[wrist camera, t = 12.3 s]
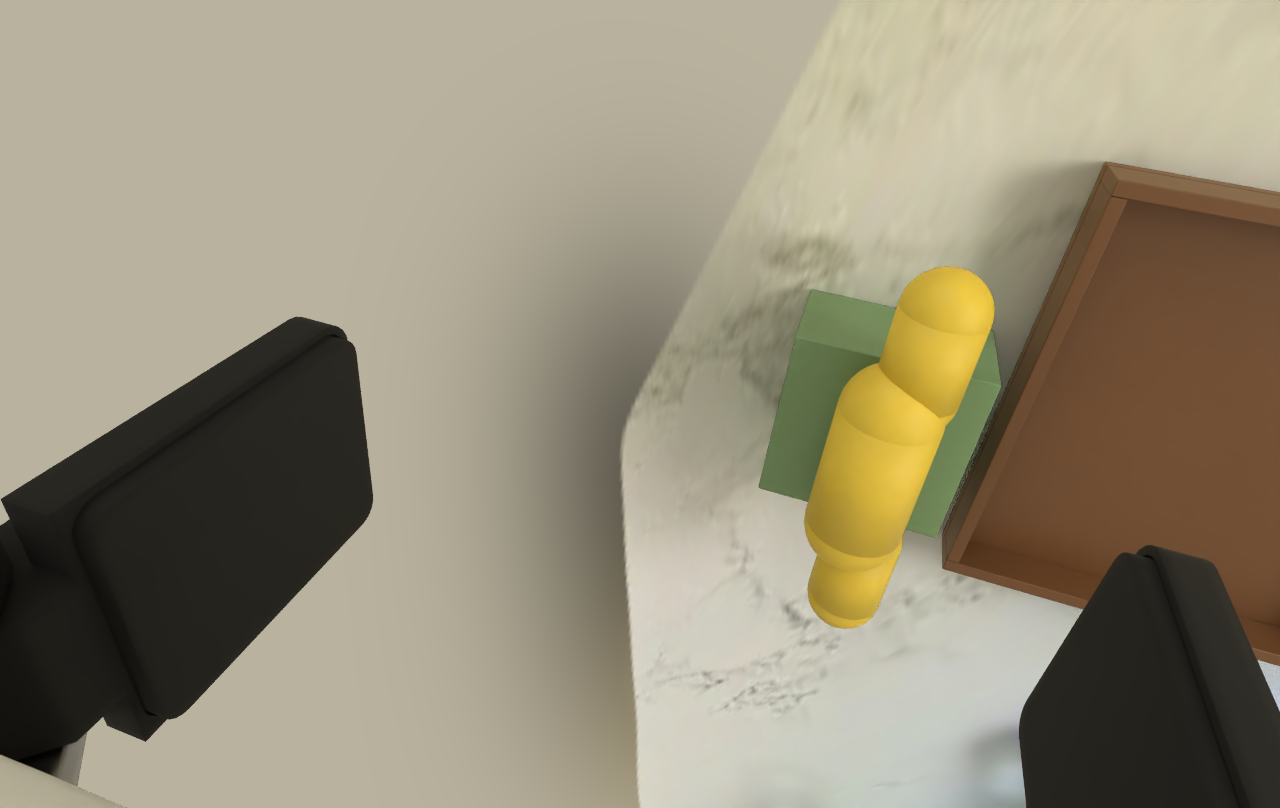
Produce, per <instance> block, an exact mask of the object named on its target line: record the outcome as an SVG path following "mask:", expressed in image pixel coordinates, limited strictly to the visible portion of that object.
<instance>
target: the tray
mask: <svg viewBox="0 0 1280 808" xmlns="http://www.w3.org/2000/svg"><path fill="white" fill-rule="evenodd" d="M1145 545H1154V546H1158V547H1161V548H1165V549H1169V550H1173V551H1176V552H1180V553H1184V554H1187V555H1191V556H1195V557H1199V558H1202V559H1206V560H1208V561H1210V562H1212V563H1213V564H1214V565H1215V567H1216V568H1217V570H1218V572H1219V574H1220V577H1221V579H1222V581H1223V583H1224V586H1225V588H1226V590H1227V593H1228V595H1229V597H1230V599H1231V602H1232V604H1233V606H1234V609H1235V611H1236V613H1237V615H1238V618H1239V620H1240V622H1241V625H1242V627H1243V629H1244V631H1245V634H1246V636H1247V638H1248V640H1249V643H1250V645H1251V647H1252V650H1253V652H1254V654H1255V656H1256V659H1257V660H1260V661H1264V662H1267V663H1271V664H1274V665H1278V666H1280V192H1275V191H1269V190H1263V189H1258V188H1252V187H1246V186H1241V185H1235V184H1230V183H1224V182H1218V181H1213V180H1207V179H1202V178H1196V177H1190V176H1185V175H1179V174H1173V173H1168V172H1162V171H1157V170H1151V169H1145V168H1140V167H1134V166H1129V165H1123V164H1117V163H1112V162H1105V163H1104V165H1103V167H1102V170H1101V172H1100V174H1099V177H1098V179H1097V181H1096V183H1095V186H1094V188H1093V190H1092V193H1091V195H1090V197H1089V199H1088V202H1087V204H1086V206H1085V209H1084V211H1083V213H1082V216H1081V218H1080V220H1079V222H1078V225H1077V227H1076V229H1075V232H1074V234H1073V236H1072V238H1071V241H1070V243H1069V245H1068V248H1067V250H1066V252H1065V254H1064V257H1063V259H1062V261H1061V264H1060V266H1059V268H1058V270H1057V273H1056V275H1055V277H1054V280H1053V282H1052V284H1051V286H1050V289H1049V291H1048V293H1047V296H1046V298H1045V300H1044V303H1043V305H1042V307H1041V309H1040V312H1039V314H1038V316H1037V319H1036V321H1035V323H1034V325H1033V328H1032V330H1031V332H1030V335H1029V337H1028V339H1027V341H1026V344H1025V346H1024V348H1023V351H1022V353H1021V355H1020V357H1019V360H1018V362H1017V364H1016V367H1015V369H1014V371H1013V374H1012V376H1011V378H1010V380H1009V383H1008V385H1007V387H1006V390H1005V392H1004V394H1003V396H1002V399H1001V401H1000V403H999V406H998V408H997V410H996V412H995V415H994V417H993V419H992V422H991V424H990V426H989V428H988V431H987V433H986V435H985V438H984V440H983V442H982V445H981V447H980V449H979V451H978V454H977V456H976V458H975V461H974V463H973V465H972V467H971V470H970V472H969V474H968V477H967V479H966V481H965V483H964V486H963V488H962V490H961V493H960V495H959V497H958V499H957V502H956V504H955V506H954V509H953V511H952V513H951V516H950V518H949V520H948V522H947V525H946V527H945V529H944V532H943V534H942V568H943V569H945V570H949V571H952V572H956V573H959V574H963V575H966V576H969V577H973V578H976V579H980V580H983V581H987V582H990V583H994V584H997V585H1001V586H1004V587H1008V588H1011V589H1014V590H1018V591H1021V592H1025V593H1028V594H1032V595H1035V596H1039V597H1042V598H1046V599H1049V600H1053V601H1056V602H1060V603H1063V604H1066V605H1070V606H1073V607H1077V608H1080V609H1084V608H1085V606H1086V605H1087V603H1088V602H1089V600H1090V598H1091V597H1092V595H1093V594H1094V592H1095V590H1096V589H1097V587H1098V586H1099V584H1100V582H1101V581H1102V579H1103V578H1104V576H1105V574H1106V573H1107V571H1108V570H1109V568H1110V566H1111V565H1112V563H1113V562H1114V560H1115V559H1116V558H1117V556H1118V555H1120V554H1121V553H1124V552H1128V553H1131V554H1136V553H1137V552H1138V550H1139V549H1141V548H1142V547H1144V546H1145Z"/></svg>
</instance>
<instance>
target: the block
mask: <svg viewBox="0 0 1280 808" xmlns="http://www.w3.org/2000/svg"><path fill="white" fill-rule="evenodd" d="M895 311H896V308H892V307H887V306H883V305H879V304H874V303H870V302H865V301H861V300H856V299H852V298H848V297H843V296H839V295H834V294H830V293H825V292H821V291H816V290H811V291H810V294H809V297H808V300H807V303H806V306H805V309H804V312H803V315H802V318H801V321H800V324H799V327H798V330H797V333H796V337H795V340H794V344H793V348H792V353H791V357H790V361H789V365H788V369H787V373H786V377H785V381H784V385H783V389H782V393H781V397H780V401H779V406H778V410H777V414H776V418H775V422H774V426H773V430H772V434H771V438H770V442H769V446H768V450H767V454H766V459H765V463H764V467H763V471H762V475H761V479H760V483H759V488H760V489H764V490H768V491H771V492H775V493H778V494H782V495H785V496H789V497H792V498H796V499H800V500H803V501H807V502H808V501H809V497H810V494H811V491H812V487H813V484H814V481H815V477H816V474H817V471H818V467H819V464H820V461H821V457H822V454H823V450H824V447H825V444H826V440H827V437H828V434H829V430H830V427H831V424H832V420H833V417H834V413H835V410H836V407H837V403H838V400H839V397H840V395H841V393H842V390H843V389H844V387H845V385H846V384H847V383H848V381H849V380H850V379H851V378H852V377H853V376H855V375H856V374H857V373H858V372H859V371H861V370H862V369H864V368H866V367H868V366H870V365H873V364H877V363H879V361H880V358H881V355H882V352H883V349H884V346H885V343H886V339H887V336H888V333H889V330H890V327H891V324H892V321H893V318H894V315H895ZM1000 389H1001V380H1000V373H999V366H998V359H997V352H996V345H995V338H994V332H993V330H990V332H989V335H988V337H987V340H986V342H985V345H984V347H983V349H982V352H981V354H980V357H979V359H978V362H977V364H976V367H975V369H974V372H973V374H972V377H971V379H970V382H969V384H968V387H967V389H966V391H965V394H964V396H963V399H962V401H961V404H960V406H959V409H958V411H957V413H956V414H955V416H954V417H953V419H952V420H951V421H950V422H949V423H948V424H947V425H946V427H945V431H944V434H943V436H942V439H941V441H940V444H939V446H938V449H937V451H936V454H935V456H934V459H933V461H932V464H931V466H930V469H929V471H928V474H927V476H926V479H925V481H924V484H923V486H922V489H921V491H920V494H919V496H918V499H917V501H916V504H915V506H914V509H913V511H912V514H911V516H910V519H909V521H908V524H907V526H906V530H910V531H913V532H917V533H920V534H924V535H928V536H931V537H937V534H938V532H939V530H940V527H941V525H942V523H943V520H944V518H945V516H946V514H947V511H948V509H949V507H950V504H951V502H952V500H953V497H954V495H955V493H956V490H957V488H958V486H959V483H960V481H961V479H962V476H963V474H964V472H965V470H966V467H967V465H968V463H969V460H970V458H971V456H972V453H973V451H974V449H975V446H976V444H977V442H978V439H979V437H980V435H981V433H982V430H983V428H984V426H985V423H986V421H987V419H988V416H989V414H990V412H991V409H992V407H993V405H994V402H995V400H996V398H997V395H998V393H999V391H1000Z"/></svg>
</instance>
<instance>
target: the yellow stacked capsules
mask: <svg viewBox="0 0 1280 808" xmlns="http://www.w3.org/2000/svg"><path fill="white" fill-rule="evenodd" d="M994 314H995V306H994V301H993V297H992V294H991V292H990V290H989V288H988V287H987V286H986V284H985V283H984V282H983V281H982V280H981V279H980V278H979V277H978V276H976V275H975V274H973V273H972V272H970V271H968V270H965V269H962V268H958V267H938V268H934V269H931V270H928V271H926V272H924V273H922V274H920V275H919V276H917V277H916V278H915V279H914V280H912V281H911V282H910V283H909V284H908V286H907V287H906V288H905V290H904V291H903V293H902V295H901V298H900V300H899V302H898V305H897V308H896V311H895V315H894V318H893V321H892V324H891V327H890V330H889V333H888V336H887V339H886V343H885V346H884V349H883V352H882V355H881V358H880V361H879V363H877V364H873V365H870V366H868V367H866V368H864V369H862V370H861V371H859V372H858V373H857V374H856V375H855V376H853V377H852V378H851V379H850V380H849V381H848V383H847V384H846V385H845V387H844V389H843V390H842V393H841V395H840V397H839V400H838V403H837V407H836V410H835V413H834V417H833V420H832V424H831V427H830V430H829V434H828V437H827V440H826V444H825V447H824V450H823V454H822V457H821V461H820V464H819V467H818V471H817V474H816V477H815V481H814V484H813V487H812V491H811V494H810V497H809V501H808V504H807V508H806V512H805V519H804V524H805V532H806V536H807V538H808V541H809V543H810V545H811V547H812V548H813V550H814V551H815V553H816V554H817V557H816V560H815V563H814V566H813V569H812V572H811V575H810V578H809V583H808V598H809V602H810V604H811V607H812V609H813V610H814V612H815V613H816V614H817V615H818V617H819V618H820V619H822V620H823V621H824V622H826V623H827V624H829V625H831V626H833V627H837V628H843V629H847V628H855V627H858V626H860V625H863V624H865V623H866V622H867V621H869V620H870V619H871V618H872V617H873V615H874V614H875V612H876V611H877V609H878V607H879V604H880V602H881V599H882V597H883V594H884V592H885V589H886V587H887V584H888V582H889V579H890V577H891V574H892V572H893V569H894V567H895V565H896V562H897V560H898V557H899V555H900V552H901V548H902V544H903V537H902V536H903V534H904V531H905V529H906V526H907V524H908V521H909V519H910V516H911V514H912V511H913V509H914V506H915V504H916V501H917V499H918V496H919V494H920V491H921V489H922V486H923V484H924V481H925V479H926V476H927V474H928V471H929V469H930V466H931V464H932V461H933V459H934V456H935V454H936V451H937V449H938V446H939V444H940V441H941V439H942V436H943V434H944V431H945V427H946V425H947V424H948V423H949V422H950V421H951V420H952V419H953V417H954V416H955V414H956V413H957V411H958V409H959V406H960V404H961V401H962V399H963V396H964V394H965V391H966V389H967V387H968V384H969V382H970V379H971V377H972V374H973V372H974V369H975V367H976V364H977V362H978V359H979V357H980V354H981V352H982V349H983V347H984V345H985V342H986V340H987V337H988V335H989V332H990V330H991V327H992V323H993V320H994Z"/></svg>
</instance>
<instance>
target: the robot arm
mask: <svg viewBox="0 0 1280 808" xmlns="http://www.w3.org/2000/svg"><path fill="white" fill-rule="evenodd" d="M1 501H2V503H3V505H4V507H5V510H6V512H7V514H8V516H9V518H10V520H8V521H7V522H5V523H4V524H2V525H1V526H0V808H125V807H123V806H121V805H118V804H116V803H114V802H112V801H109V800H107V799H105V798H102V797H100V796H98V795H95V794H93V793H91V792H88V791H86V790H84V789H81V788H79V787H77V785H78V780H79V774H80V768H81V763H82V756H83V752H84V746H85V741H86V735H87V732H88V731H89V730H90V729H91V728H92V727H93V726H94V725H95V724H96V723H97V722H98V721H99V720H100V719H101V718H102V717H104V720H105V722H106V724H107V726H110V727H112V728H114V729H117V730H119V731H122V732H124V733H126V734H129V735H131V736H133V737H136V738H138V739H141V740H143V741H145V742H146V741H147V740H148V739H149V738H150V737H151V736H152V734H153V733H154V732H155V731H156V730H157V729H158V728H159V727H160V726H161V725H162V724H163V723H164V722H165V721H166V720H167V719H173V718H177V717H178V716H180V715H182V714H183V713H185V712H186V711H187V710H188V709H189V708H190V707H191V706H192V705H193V704H194V703H195V702H196V701H197V700H198V699H199V697H200V696H201V695H202V694H203V693H204V692H205V691H206V690H207V689H208V688H209V687H210V685H212V684H213V683H214V682H215V680H216V679H217V678H218V677H219V676H220V675H221V674H222V673H223V672H224V671H225V670H226V669H227V668H228V667H229V666H230V665H231V663H232V662H233V661H234V660H235V659H236V658H237V657H238V656H239V655H240V654H241V653H242V652H243V651H244V650H245V648H247V646H248V645H249V644H250V643H251V642H252V641H253V640H254V639H255V638H256V637H257V635H259V634H260V633H261V631H263V629H264V628H265V627H266V626H267V625H268V624H269V623H270V622H271V621H272V620H273V619H274V618H275V617H276V616H277V614H278V613H279V612H280V611H281V610H282V609H283V608H284V607H285V606H286V605H287V604H288V603H289V602H290V601H291V599H293V597H295V595H296V594H297V593H298V592H299V591H300V590H301V589H302V588H303V587H304V586H305V585H306V584H307V582H309V580H311V578H312V577H313V576H314V575H315V574H316V573H317V572H318V571H319V570H320V569H321V568H322V567H323V566H324V565H325V564H326V562H327V561H328V560H329V559H330V558H331V557H332V556H333V555H334V554H335V553H336V552H337V551H338V550H339V549H340V547H342V545H343V544H344V543H345V542H346V541H347V540H348V539H349V538H350V537H351V536H352V535H353V534H354V533H355V532H356V531H357V530H358V528H359V527H360V526H361V525H362V524H363V523H364V522H365V520H366V519H367V517H368V515H369V513H370V510H371V508H372V503H373V493H372V483H371V474H370V467H369V458H368V449H367V440H366V432H365V424H364V415H363V406H362V398H361V390H360V381H359V372H358V363H357V355H356V351H355V347H354V345H353V344H352V343H351V342H349V341H348V340H347V337H346V334H345V333H344V331H343V330H342V329H340V328H339V327H337V326H333V325H330V324H326V323H322V322H318V321H315V320H311V319H307V318H303V317H294V318H292V319H289V320H287V321H286V322H284V323H283V324H281V325H280V326H278V327H277V328H275V329H273V330H271V331H270V332H268V333H267V334H265V335H263V336H262V337H260V338H259V339H257V340H255V341H254V342H252V343H251V344H249V345H248V346H246V347H244V348H243V349H241V350H239V351H238V352H236V353H235V354H233V355H231V356H230V357H228V358H227V359H225V360H223V361H222V362H220V363H218V364H217V365H215V366H214V367H212V368H210V369H209V370H207V371H206V372H204V373H202V374H201V375H199V376H198V377H196V378H195V379H193V380H191V381H190V382H188V383H186V384H185V385H183V386H182V387H180V388H178V389H177V390H175V391H174V392H172V393H170V394H169V395H167V396H166V397H164V398H162V399H161V400H159V401H157V402H156V403H154V404H153V405H151V406H149V407H148V408H146V409H145V410H143V411H141V412H140V413H138V414H137V415H135V416H133V417H132V418H130V419H129V420H127V421H125V422H124V423H122V424H121V425H119V426H117V427H116V428H114V429H113V430H111V431H109V432H108V433H106V434H104V435H103V436H101V437H100V438H98V439H96V440H95V441H93V442H92V443H90V444H88V445H87V446H85V447H84V448H82V449H80V450H79V451H77V452H76V453H74V454H72V455H71V456H69V457H68V458H66V459H64V460H63V461H61V462H60V463H58V464H56V465H55V466H53V467H52V468H50V469H48V470H47V471H45V472H44V473H42V474H40V475H39V476H37V477H35V478H34V479H32V480H31V481H29V482H27V483H26V484H24V485H23V486H21V487H19V488H18V489H16V490H15V491H13V492H11V493H10V494H8V495H7V496H5V497H3V498H2V499H1ZM1019 740H1020V749H1021V759H1022V768H1023V778H1024V787H1025V797H1026V806H1027V808H1280V711H1279V709H1278V707H1277V704H1276V702H1275V700H1274V698H1273V695H1272V693H1271V691H1270V688H1269V686H1268V684H1267V682H1266V679H1265V677H1264V675H1263V672H1262V670H1261V668H1260V666H1259V663H1258V661H1257V659H1256V656H1255V654H1254V652H1253V650H1252V647H1251V645H1250V643H1249V640H1248V638H1247V636H1246V634H1245V631H1244V629H1243V627H1242V625H1241V622H1240V620H1239V618H1238V615H1237V613H1236V611H1235V609H1234V606H1233V604H1232V602H1231V599H1230V597H1229V595H1228V593H1227V590H1226V588H1225V586H1224V583H1223V581H1222V579H1221V577H1220V574H1219V572H1218V570H1217V568H1216V567H1215V565H1214V564H1213V563H1212V562H1210V561H1208V560H1206V559H1202V558H1199V557H1195V556H1191V555H1187V554H1184V553H1180V552H1176V551H1173V550H1169V549H1165V548H1161V547H1158V546H1154V545H1145V546H1144V547H1142V548H1141V549H1139V550H1138V552H1137V553H1136V554H1131V553H1128V552H1124V553H1121V554H1120V555H1118V556H1117V558H1116V559H1115V560H1114V562H1113V563H1112V565H1111V566H1110V568H1109V570H1108V571H1107V573H1106V574H1105V576H1104V578H1103V579H1102V581H1101V582H1100V584H1099V586H1098V587H1097V589H1096V590H1095V592H1094V594H1093V595H1092V597H1091V598H1090V600H1089V602H1088V603H1087V605H1086V606H1085V608H1084V610H1083V611H1082V613H1081V614H1080V616H1079V618H1078V619H1077V621H1076V622H1075V624H1074V626H1073V627H1072V629H1071V630H1070V632H1069V634H1068V635H1067V637H1066V638H1065V640H1064V642H1063V643H1062V645H1061V646H1060V648H1059V650H1058V651H1057V653H1056V655H1055V656H1054V658H1053V659H1052V661H1051V663H1050V664H1049V666H1048V667H1047V669H1046V671H1045V672H1044V674H1043V675H1042V677H1041V679H1040V680H1039V682H1038V683H1037V685H1036V687H1035V688H1034V690H1033V691H1032V693H1031V695H1030V696H1029V698H1028V699H1027V701H1026V703H1025V705H1024V707H1023V710H1022V713H1021V718H1020V724H1019Z"/></svg>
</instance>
